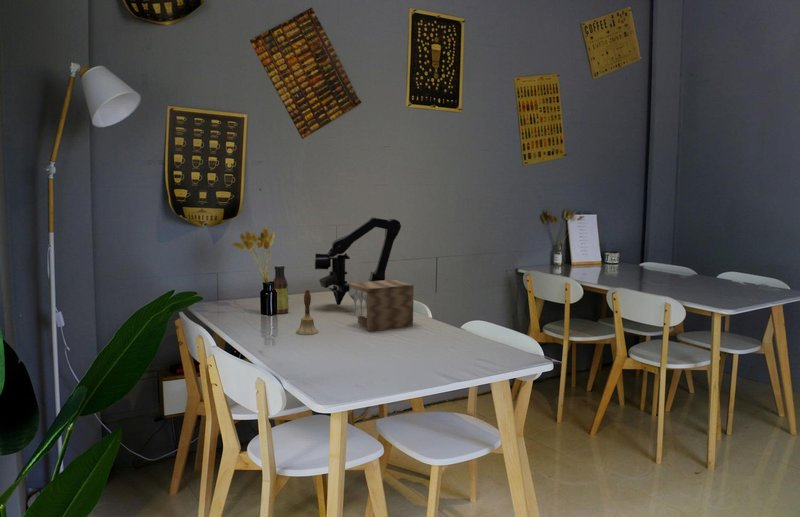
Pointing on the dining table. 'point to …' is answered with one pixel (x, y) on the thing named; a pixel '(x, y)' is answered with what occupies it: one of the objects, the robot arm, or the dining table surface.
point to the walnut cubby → (386, 304)
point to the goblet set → (355, 296)
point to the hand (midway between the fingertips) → (338, 304)
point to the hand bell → (307, 318)
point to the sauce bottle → (281, 289)
